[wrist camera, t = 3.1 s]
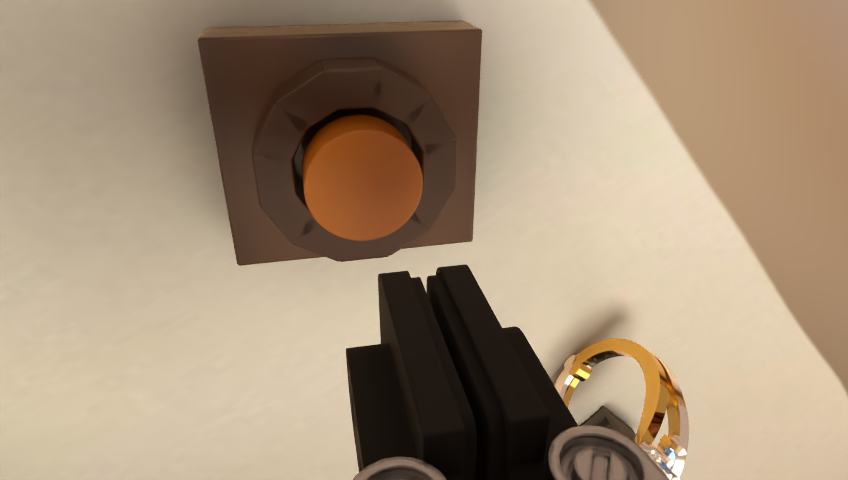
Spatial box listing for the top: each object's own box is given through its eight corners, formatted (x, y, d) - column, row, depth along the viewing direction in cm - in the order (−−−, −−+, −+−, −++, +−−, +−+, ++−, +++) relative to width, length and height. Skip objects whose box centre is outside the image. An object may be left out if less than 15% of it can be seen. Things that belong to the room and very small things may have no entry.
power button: (307, 222, 19) (309, 247, 18) (296, 117, 17) (297, 134, 16) (412, 212, 20) (423, 235, 18) (411, 110, 18) (423, 126, 17)
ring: (599, 300, 28) (700, 417, 21) (638, 326, 30) (744, 443, 23) (509, 396, 30) (575, 532, 23) (549, 416, 32) (623, 551, 25)
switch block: (241, 239, 23) (233, 293, 19) (205, 28, 19) (187, 48, 16) (458, 218, 24) (487, 264, 21) (464, 20, 21) (500, 37, 17)
